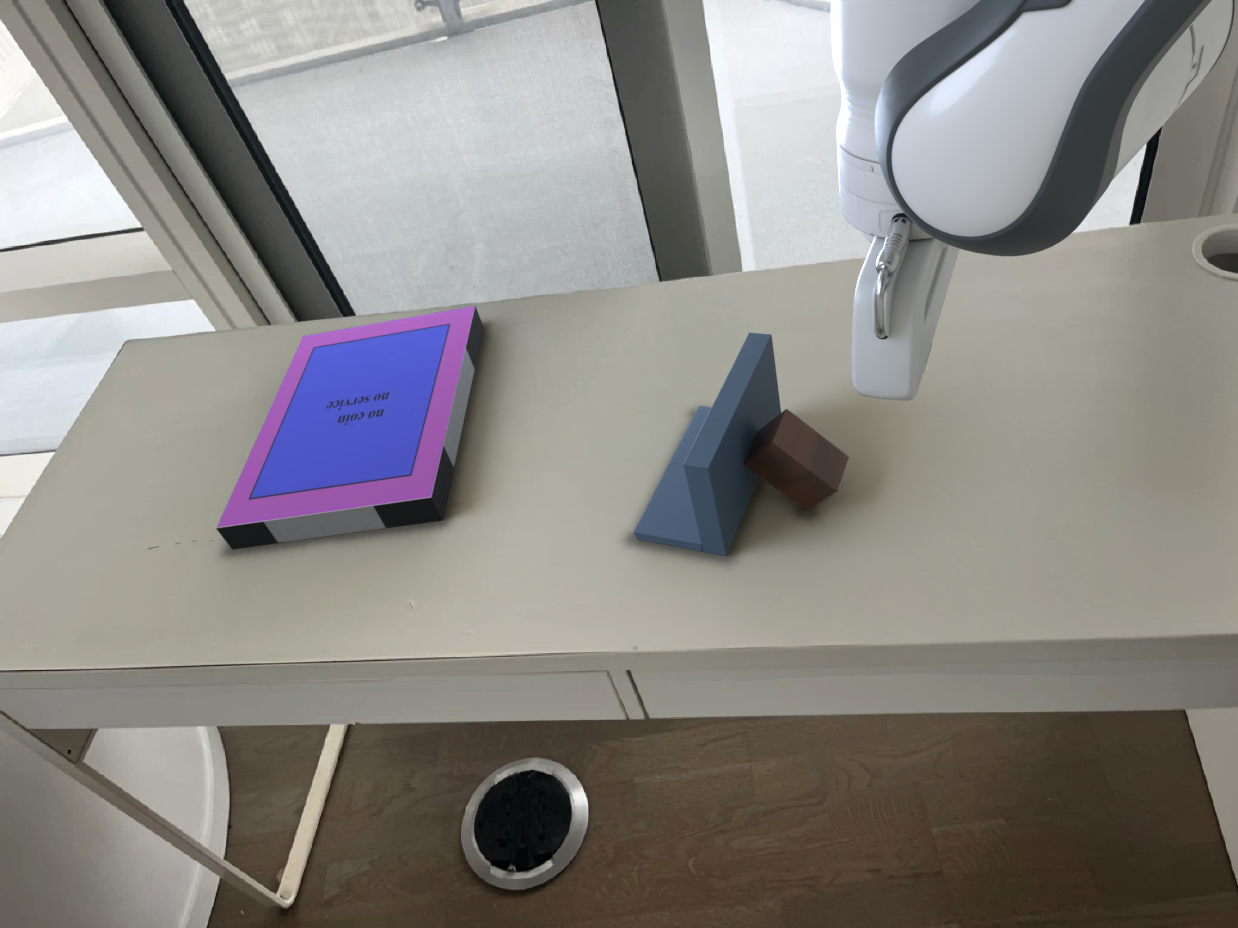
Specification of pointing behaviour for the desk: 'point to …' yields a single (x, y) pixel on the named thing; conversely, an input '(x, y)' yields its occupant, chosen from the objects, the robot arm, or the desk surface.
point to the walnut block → (796, 460)
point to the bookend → (716, 459)
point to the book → (359, 432)
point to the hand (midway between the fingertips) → (914, 361)
